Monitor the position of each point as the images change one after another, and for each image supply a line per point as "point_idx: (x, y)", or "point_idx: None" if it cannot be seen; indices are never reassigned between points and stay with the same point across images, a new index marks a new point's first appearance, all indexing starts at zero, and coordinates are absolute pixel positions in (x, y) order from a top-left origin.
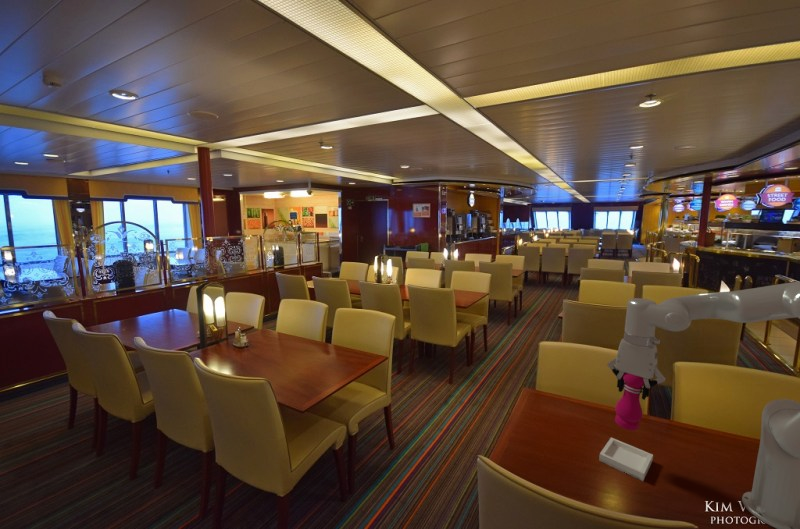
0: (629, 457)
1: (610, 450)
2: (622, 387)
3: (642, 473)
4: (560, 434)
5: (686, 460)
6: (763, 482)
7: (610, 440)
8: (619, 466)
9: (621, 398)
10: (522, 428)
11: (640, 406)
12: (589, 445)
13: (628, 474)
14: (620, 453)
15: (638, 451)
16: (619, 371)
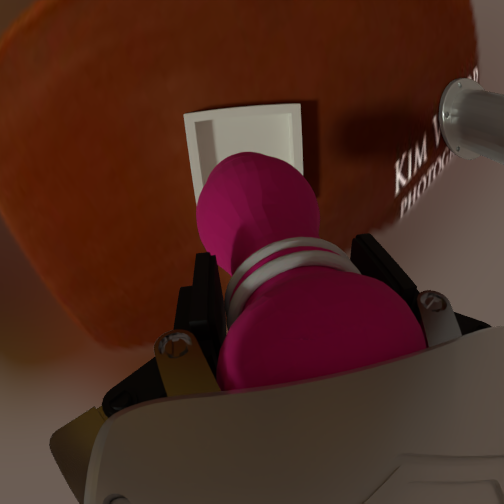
0: (250, 144)
1: (203, 156)
2: (221, 305)
3: None
4: (87, 194)
5: (351, 35)
6: (497, 155)
7: (189, 132)
8: None
9: (225, 268)
10: (41, 250)
11: (318, 226)
12: (153, 171)
13: None
14: (227, 146)
15: (265, 114)
16: (164, 396)
